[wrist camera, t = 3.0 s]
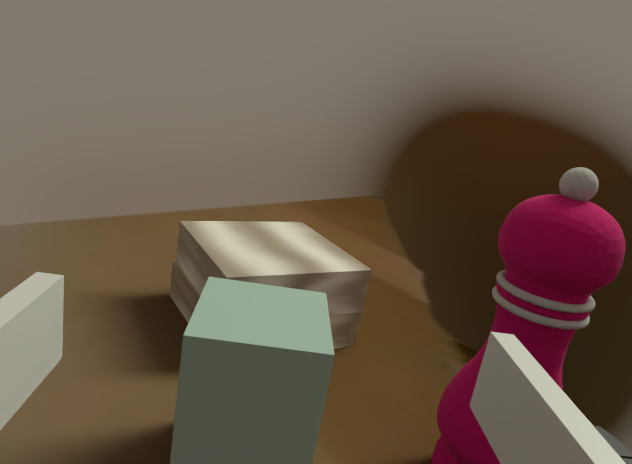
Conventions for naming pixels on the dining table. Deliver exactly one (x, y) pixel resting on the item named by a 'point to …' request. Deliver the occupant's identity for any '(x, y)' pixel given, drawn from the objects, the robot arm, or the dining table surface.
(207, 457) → the sage block
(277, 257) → the top block
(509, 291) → the pepper mill
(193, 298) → the bottom block
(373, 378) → the dining table surface
